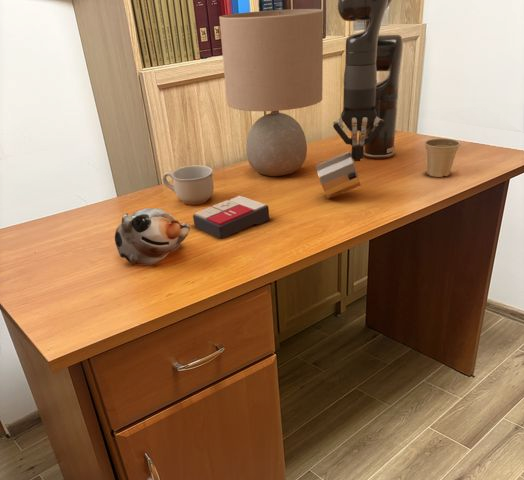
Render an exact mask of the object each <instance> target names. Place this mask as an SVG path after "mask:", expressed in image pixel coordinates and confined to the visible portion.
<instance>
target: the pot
mask: <svg viewBox="0 0 524 480" xmlns="http://www.w3.org/2000/svg"><path fill="white" fill-rule="evenodd" d="M315 168H316V172H317V175H318V179H319V181H320V184H321V187H322V189H323V192H324V195H325V197H326V198H327V200H329V199H331V198H334V197H336V196H339V195H342V194H345V193H347V192H348V191H351V190H353V189H356V188H359V187H361V186H362V182H361V180H360V176H359V173H358V170H357V168H356V165H355V161H354V159H352V152H351V150H347V151H345V152H343V153H340V154H338V155H335V156H333V157H331V158H329V159H326V160H324V161H321V162H319V163H316V164H315Z"/></svg>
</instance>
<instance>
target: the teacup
mask: <svg viewBox="0 0 524 480" xmlns="http://www.w3.org/2000/svg"><path fill="white" fill-rule="evenodd" d="M213 172H214V171H213V169H212V168H211V167H210V166H207V165H201V164H195V165H192V164H191V165H185V166H181V167H179V168H176V169H175V170H174V171H166V172H164V173H163V174H162V177H161V180H162V183H163V185H165V186H166V188H168V189H169V190H170V191H173V193H174V194H175V195H176V197H177V198H178V200H179V201H181V202H183V203H184V204H187V205H192V206H194V205H201V204H204V203H206V202H207V201H209V199H210V198H211V197H212V196H213V194H214V189H215V188H214V187H215V185H214V174H213ZM167 177H170V178H171V180H172V182H173V185H172V184H171V183H170V182H169V181H168V178H167Z"/></svg>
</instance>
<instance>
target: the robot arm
mask: <svg viewBox="0 0 524 480" xmlns="http://www.w3.org/2000/svg"><path fill="white" fill-rule="evenodd" d="M392 2H393V0H337V10H338V14H339V16H340V18H341V19H342V20H343V21H345V22H364V23H363V25H364V26H363V27H364V28H363V31H360V32H356V33H353V34H350V35H348V36H347V38H346V41H345V55H344V57H345V60H344V61H345V64H344V74H343V100H342V102H343V103H342V112H341V114H340V118H338V119H337V120H336V121H334V122H332V126H333V129H334V130H335V131H336V133H337V134H338V136H339V137H340V138H341V140H342V141H343V142H344V143H345V145H350V146H351V156H352V159H353V162H354V163H355V162H356V163H357V162H361V160H364V159H363V158H364V157H365V158H367V159H368V158H369V159H374V160H376V159H378V160H380V159H381V160H383V159H388V158H391V157H393V156H394V155H395V139H396V127H397V115H398V101H399V87H400V78H401V77H400V75H401V68H402V61H403V60H402V59H403V51H404V40H403V37H402V35H400V34H380V32H381V31H380V30H381V27H382V23H383V20H384V17H385V14H386V11H387V9H389V6H390V5H391V3H392ZM378 72H388V74H387V76H386V77H385V78H384V79H382V80H380V81H378V79H377V78H378V77H377V76H378V75H377V73H378ZM343 123H344V124H343ZM344 126H346V128H347V129H348V130H349V131H350V137H349V136H348V135H347V133H346V132H345V131H344V130H343V128H344Z"/></svg>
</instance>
